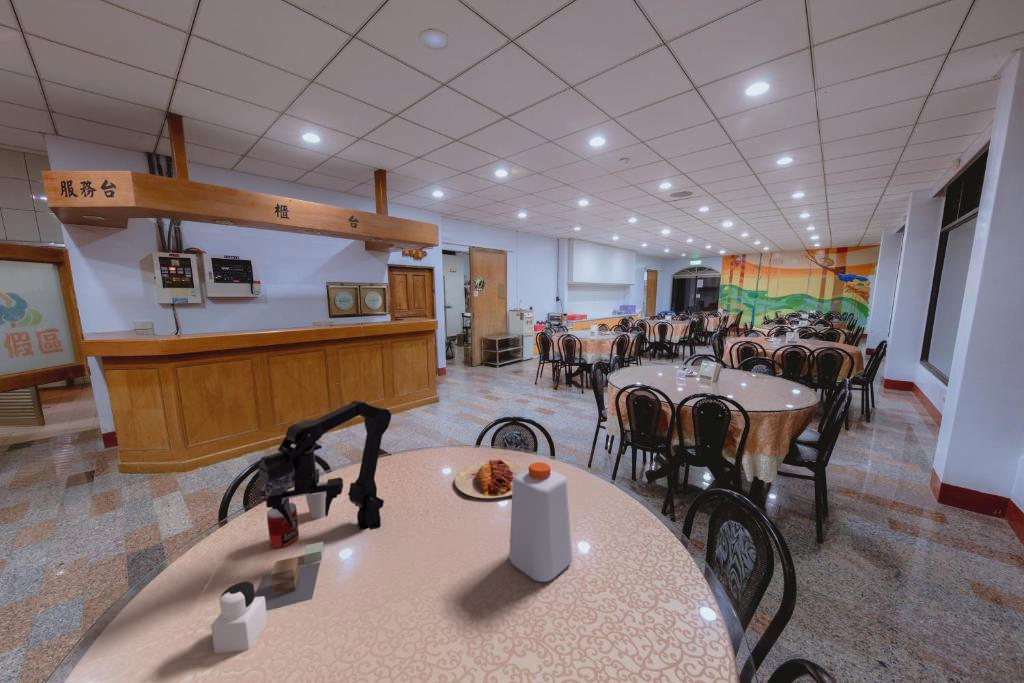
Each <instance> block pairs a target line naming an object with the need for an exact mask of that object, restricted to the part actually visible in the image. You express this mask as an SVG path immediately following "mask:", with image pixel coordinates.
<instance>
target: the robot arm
mask: <svg viewBox="0 0 1024 683" xmlns="http://www.w3.org/2000/svg"><path fill="white" fill-rule="evenodd" d="M358 416H360V417H363V418H364V426H365V431H366V437H365V443H364V448H363V453H362V458H361V462H360V469H359V474H358V477H357V479H356V480H355V482H350V484H349V490H348V493H347V496H348V499H349V501H350V502H351V503H352V504H354V506H355V507H358V510H357V514H356V516H357V527H358V528H359V531H363V530H367V529H369V530H372V529H376V528H380V527H381V523H382V522H381V520H382V519H381V510H380V509H382V508H383V507H384V503H385V500H384V499H382V498H380V497H378V496H377V491H378V487H377V484H376V480H375V477H376V476H375V475H376V471H377V467H378V466H377V465H378V459H379V455H380V449H381V444H382V439H383V435H384V434H385V433H386V431H387V430H388V429H389V425H390V422H391V420H392V412H390V410H389V409H387V408H383V407H380V406H379V407H378V406H376V405H375V406H373V405H371V404H368V403H366V402H365V401H361V400H352V401H351V402H350V403H348V404H346V405H343V406H342V407H339V408H337V409H336V410H333V411H332V412H329V413H327V414H325V415H323V416H320V417H318V418H315V419H309V420H304V421H301V422H297V423H294V424H292V425H290V426H289V427H288V429H287V430H286V433H285V437H284V438H283V440H282V442H281V444H280V445H279V447H278V448H277V451H278V452H277V453H273V454H270V455H266V456H261V457H260V462H259V467H258V471H257V472H258V474H259V478H260V480H261V482H262V483H263V484H264V485H265V484H270V483H272V482H274V481H277V480H279V479H282V478H285V477H287V476H289V475H290V474H291V473H292V474H291V476H292V477H291V478H292V481H293V488H294V489H290V490H288V487H287V486H283V487H282V486H281V487H276V488H275V487H274V488H272V489H271V490H270V491H269V494H267V497H266V499H265V506H266V508H267V509H271V508H272V509H277V510H278V511H279V512H280V513H281V514H282V515H283V516H284V517H285V518H286V520H287V521H288V522H289V523H290V524H292V514H291V509H290V505H289V503H290V499H291V498H296V497H302V496H305V495H308V494H314V493H319V492H325V491H326V498H325V515H326V516H325V517H326V518H327V517H328V516H329V513H330V512H329V510H330V507H331V505H332V502H333V500H334V499H336V498H337V497H338V496H340V495H341V494H343V490H344V489H343V488H344V480H343V478H342V477H334V478H328V479H327V481H326V482H327V484H325V485H319V486H317V483H319V482H320V468H317V467H316V457H315V456H316V455H315V451H317V450H320V449H321V450H322V447H323V446H322V445H320V444H319V443H317V442H318V441H319V440H321V438H322V437H323V435H324V434H326V433H327V432H329V431H330V430H333V429H335V428H337V427H339V426H340V425H343V424H344V423H347V422H348V421H350V420H353V419H354V418H357V417H358ZM292 445H293V447H292ZM328 512H329V513H328Z"/></svg>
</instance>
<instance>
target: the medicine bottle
mask: <svg viewBox="0 0 1024 683" xmlns="http://www.w3.org/2000/svg"><path fill="white" fill-rule="evenodd" d="M255 594H256V592H255V586H254V584H253V582H250V581H241V582H238V583H235V584H233V585H231V586H230V587H228V588H227V589H225V590H224V591H223V592H222V594H221V595H220V597H219V607H220V613H219V615H218V616H217V617H216V619H215V620H214V621H213V623H212V624H211V626H210V627H211V636H212V642H213V643H212V644H213V650H214V652H213V653H214V654H221V653H230V652H233V653H234V652H242V651H243V652H244V651H249V650H250V649H251V648H252V646H253V645H254V643H255V641H257V639H258V637H259V636H260V634H261V633H262V631H263V629H264V628H265V626H266V625H267V624H268V614H267V611H266V603H265V597H264V596H262V597H255Z"/></svg>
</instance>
